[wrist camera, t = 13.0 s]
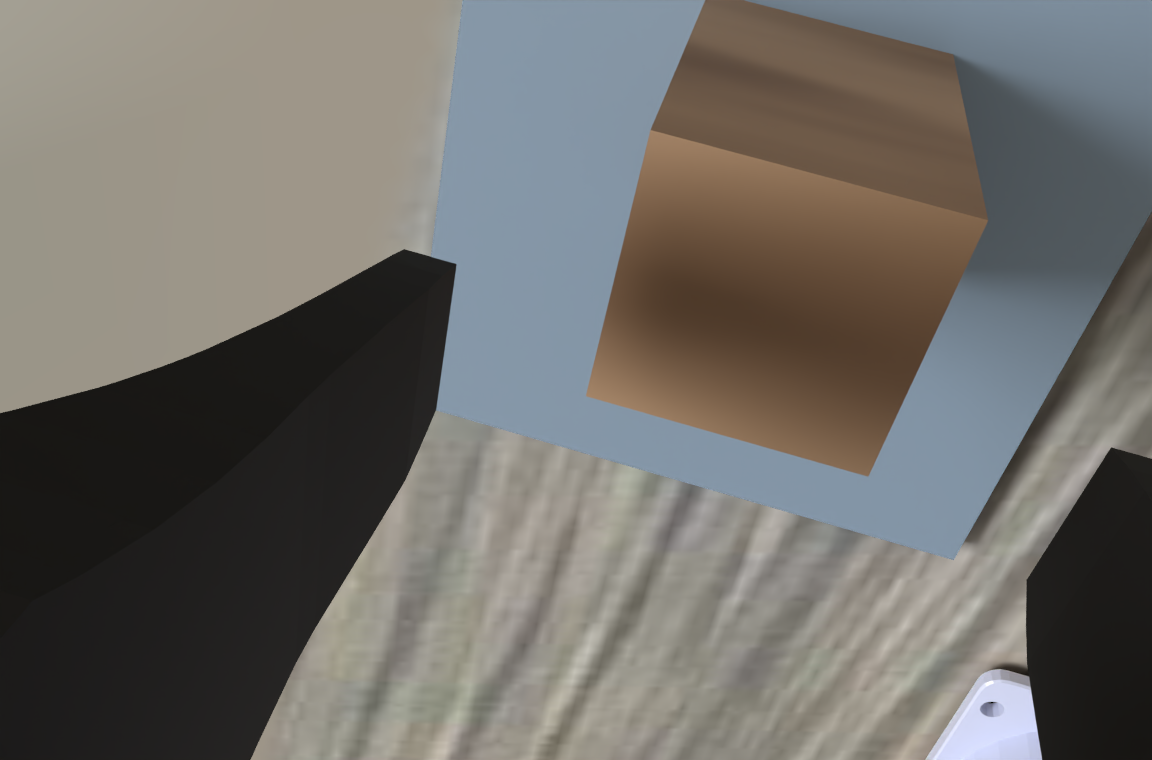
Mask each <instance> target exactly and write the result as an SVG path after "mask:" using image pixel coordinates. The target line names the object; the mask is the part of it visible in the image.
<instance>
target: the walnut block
mask: <svg viewBox="0 0 1152 760" xmlns="http://www.w3.org/2000/svg"><path fill="white" fill-rule="evenodd" d="M987 222H988V217H987V212H986V207H985V203H984V198H983V193H982V188H981V184H980V179H979V174H978V170H977V165H976V160H975V155H974V151H973V146H972V141H971V136H970V132H969V127H968V122H967V118H966V113H965V108H964V103H963V99H962V94H961V89H960V85H959V80H958V75H957V70H956V66H955V61H954V56H953V54H950V53H946V52H942V51H938V50H934V49H931V48H927V47H923V46H919V45H915V44H911V43H907V42H903V41H900V40H896V39H892V38H888V37H884V36H880V35H876V34H872V33H869V32H865V31H861V30H857V29H853V28H849V27H845V26H841V25H838V24H834V23H830V22H826V21H822V20H818V19H814V18H810V17H807V16H803V15H799V14H795V13H791V12H787V11H783V10H779V9H776V8H772V7H768V6H764V5H760V4H756V3H752V2H748V1H745V0H705V2H704V4H703V7H702V9H701V11H700V14H699V16H698V18H697V21H696V23H695V26H694V28H693V30H692V33H691V35H690V37H689V40H688V42H687V45H686V47H685V49H684V52H683V54H682V56H681V59H680V61H679V64H678V66H677V68H676V71H675V73H674V75H673V78H672V80H671V82H670V85H669V87H668V90H667V92H666V94H665V97H664V99H663V101H662V104H661V106H660V109H659V111H658V113H657V116H656V118H655V120H654V123H653V125H652V128H651V130H650V134H649V138H648V142H647V146H646V150H645V155H644V159H643V163H642V167H641V171H640V175H639V179H638V183H637V187H636V192H635V196H634V200H633V204H632V208H631V212H630V216H629V220H628V224H627V229H626V233H625V237H624V241H623V245H622V249H621V253H620V257H619V261H618V266H617V270H616V274H615V278H614V282H613V286H612V290H611V294H610V298H609V303H608V307H607V311H606V315H605V319H604V323H603V327H602V331H601V335H600V340H599V344H598V348H597V352H596V356H595V360H594V364H593V368H592V373H591V377H590V381H589V385H588V389H587V393H586V396H587V397H590V398H594V399H597V400H601V401H604V402H608V403H611V404H615V405H618V406H622V407H625V408H629V409H632V410H636V411H639V412H643V413H646V414H650V415H653V416H657V417H660V418H664V419H667V420H671V421H674V422H678V423H681V424H685V425H688V426H692V427H696V428H699V429H703V430H706V431H710V432H713V433H717V434H720V435H724V436H727V437H731V438H734V439H738V440H741V441H745V442H748V443H752V444H755V445H759V446H762V447H766V448H769V449H773V450H776V451H780V452H783V453H787V454H790V455H794V456H797V457H801V458H804V459H808V460H811V461H815V462H818V463H822V464H825V465H829V466H832V467H836V468H839V469H843V470H846V471H850V472H853V473H857V474H860V475H864V476H867V477H868V476H869V474H870V472H871V470H872V468H873V466H874V463H875V461H876V459H877V457H878V455H879V453H880V451H881V448H882V446H883V444H884V442H885V440H886V438H887V436H888V433H889V431H890V429H891V427H892V425H893V423H894V421H895V419H896V416H897V414H898V412H899V410H900V408H901V406H902V404H903V401H904V399H905V397H906V395H907V393H908V391H909V389H910V386H911V384H912V382H913V380H914V378H915V376H916V374H917V371H918V369H919V367H920V365H921V363H922V361H923V359H924V357H925V354H926V352H927V350H928V348H929V346H930V344H931V342H932V339H933V337H934V335H935V333H936V331H937V329H938V327H939V324H940V322H941V320H942V318H943V316H944V314H945V312H946V310H947V307H948V305H949V303H950V301H951V299H952V297H953V295H954V292H955V290H956V288H957V286H958V284H959V282H960V280H961V277H962V275H963V273H964V271H965V269H966V267H967V265H968V263H969V260H970V258H971V256H972V254H973V252H974V250H975V248H976V245H977V243H978V241H979V239H980V237H981V235H982V233H983V230H984V228H985V226H986V224H987Z"/></svg>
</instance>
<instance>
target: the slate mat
mask: <svg viewBox="0 0 1152 760" xmlns="http://www.w3.org/2000/svg"><path fill="white" fill-rule="evenodd" d="M745 1H748V2H752V3H756V4H760V5H764V6H768V7H772V8H776V9H779V10H783V11H787V12H791V13H795V14H799V15H803V16H807V17H810V18H814V19H818V20H822V21H826V22H830V23H834V24H838V25H841V26H845V27H849V28H853V29H857V30H861V31H865V32H869V33H872V34H876V35H880V36H884V37H888V38H892V39H896V40H900V41H903V42H907V43H911V44H915V45H919V46H923V47H927V48H931V49H934V50H938V51H942V52H946V53H950V54H953V56H954V61H955V66H956V70H957V75H958V80H959V85H960V89H961V94H962V99H963V103H964V108H965V113H966V118H967V122H968V127H969V132H970V136H971V141H972V146H973V151H974V155H975V160H976V165H977V170H978V174H979V179H980V184H981V188H982V193H983V198H984V203H985V207H986V212H987V217H988V222H987V224H986V226H985V228H984V230H983V233H982V235H981V237H980V239H979V241H978V243H977V245H976V248H975V250H974V252H973V254H972V256H971V258H970V260H969V263H968V265H967V267H966V269H965V271H964V273H963V275H962V277H961V280H960V282H959V284H958V286H957V288H956V290H955V292H954V295H953V297H952V299H951V301H950V303H949V305H948V307H947V310H946V312H945V314H944V316H943V318H942V320H941V322H940V324H939V327H938V329H937V331H936V333H935V335H934V337H933V339H932V342H931V344H930V346H929V348H928V350H927V352H926V354H925V357H924V359H923V361H922V363H921V365H920V367H919V369H918V371H917V374H916V376H915V378H914V380H913V382H912V384H911V386H910V389H909V391H908V393H907V395H906V397H905V399H904V401H903V404H902V406H901V408H900V410H899V412H898V414H897V416H896V419H895V421H894V423H893V425H892V427H891V429H890V431H889V433H888V436H887V438H886V440H885V442H884V444H883V446H882V448H881V451H880V453H879V455H878V457H877V459H876V461H875V463H874V466H873V468H872V470H871V472H870V474H869V476H868V477H867V476H864V475H860V474H857V473H853V472H850V471H846V470H843V469H839V468H836V467H832V466H829V465H825V464H822V463H818V462H815V461H811V460H808V459H804V458H801V457H797V456H794V455H790V454H787V453H783V452H780V451H776V450H773V449H769V448H766V447H762V446H759V445H755V444H752V443H748V442H745V441H741V440H738V439H734V438H731V437H727V436H724V435H720V434H717V433H713V432H710V431H706V430H703V429H699V428H696V427H692V426H688V425H685V424H681V423H678V422H674V421H671V420H667V419H664V418H660V417H657V416H653V415H650V414H646V413H643V412H639V411H636V410H632V409H629V408H625V407H622V406H618V405H615V404H611V403H608V402H604V401H601V400H597V399H594V398H590V397H587V396H586V393H587V389H588V385H589V381H590V377H591V373H592V368H593V364H594V360H595V356H596V352H597V348H598V344H599V340H600V335H601V331H602V327H603V323H604V319H605V315H606V311H607V307H608V303H609V298H610V294H611V290H612V286H613V282H614V278H615V274H616V270H617V266H618V261H619V257H620V253H621V249H622V245H623V241H624V237H625V233H626V229H627V224H628V220H629V216H630V212H631V208H632V204H633V200H634V196H635V192H636V187H637V183H638V179H639V175H640V171H641V167H642V163H643V159H644V155H645V150H646V146H647V142H648V138H649V134H650V130H651V128H652V125H653V123H654V120H655V118H656V116H657V113H658V111H659V109H660V106H661V104H662V101H663V99H664V97H665V94H666V92H667V90H668V87H669V85H670V82H671V80H672V78H673V75H674V73H675V71H676V68H677V66H678V64H679V61H680V59H681V56H682V54H683V52H684V49H685V47H686V45H687V42H688V40H689V37H690V35H691V33H692V30H693V28H694V26H695V23H696V21H697V18H698V16H699V14H700V11H701V9H702V7H703V4H704V2H705V0H463V2H462V10H461V18H460V26H459V34H458V43H457V51H456V59H455V67H454V75H453V83H452V91H451V99H450V107H449V115H448V123H447V131H446V140H445V148H444V156H443V164H442V172H441V180H440V188H439V196H438V204H437V212H436V220H435V228H434V236H433V245H432V253H431V257H433V258H437V259H440V260H444V261H448V262H451V263H455V264H457V266H456V273H455V280H454V288H453V295H452V302H451V309H450V316H449V323H448V330H447V337H446V344H445V351H444V358H443V365H442V372H441V380H440V387H439V394H438V401H437V408H436V410H437V411H440V412H444V413H447V414H451V415H454V416H458V417H461V418H465V419H468V420H471V421H475V422H478V423H482V424H485V425H489V426H492V427H496V428H499V429H503V430H506V431H509V432H513V433H516V434H520V435H523V436H527V437H530V438H534V439H537V440H541V441H544V442H547V443H551V444H554V445H558V446H561V447H565V448H568V449H572V450H575V451H579V452H582V453H585V454H589V455H592V456H596V457H599V458H603V459H606V460H610V461H613V462H617V463H620V464H623V465H627V466H630V467H634V468H637V469H641V470H644V471H648V472H651V473H655V474H658V475H661V476H665V477H668V478H672V479H675V480H679V481H682V482H686V483H689V484H693V485H696V486H700V487H703V488H706V489H710V490H713V491H717V492H720V493H724V494H727V495H731V496H734V497H738V498H741V499H744V500H748V501H751V502H755V503H758V504H762V505H765V506H769V507H772V508H776V509H779V510H782V511H786V512H789V513H793V514H796V515H800V516H803V517H807V518H810V519H814V520H817V521H820V522H824V523H827V524H831V525H834V526H838V527H841V528H845V529H848V530H852V531H855V532H858V533H862V534H865V535H869V536H872V537H876V538H879V539H883V540H886V541H890V542H893V543H896V544H900V545H903V546H907V547H910V548H914V549H917V550H921V551H924V552H928V553H931V554H934V555H938V556H941V557H945V558H948V559H952V560H954V558H955V557H956V555H957V553H958V551H959V550H960V548H961V546H962V544H963V543H964V541H965V539H966V537H967V535H968V534H969V532H970V530H971V528H972V527H973V525H974V523H975V521H976V520H977V518H978V516H979V514H980V513H981V511H982V509H983V507H984V506H985V504H986V502H987V500H988V499H989V497H990V495H991V493H992V492H993V490H994V488H995V486H996V484H997V483H998V481H999V479H1000V477H1001V476H1002V474H1003V472H1004V470H1005V469H1006V467H1007V465H1008V463H1009V462H1010V460H1011V458H1012V456H1013V455H1014V453H1015V451H1016V449H1017V448H1018V446H1019V444H1020V442H1021V441H1022V439H1023V437H1024V435H1025V433H1026V432H1027V430H1028V428H1029V426H1030V425H1031V423H1032V421H1033V419H1034V418H1035V416H1036V414H1037V412H1038V411H1039V409H1040V407H1041V405H1042V404H1043V402H1044V400H1045V398H1046V397H1047V395H1048V393H1049V391H1050V390H1051V388H1052V386H1053V384H1054V382H1055V381H1056V379H1057V377H1058V375H1059V374H1060V372H1061V370H1062V368H1063V367H1064V365H1065V363H1066V361H1067V360H1068V358H1069V356H1070V354H1071V353H1072V351H1073V349H1074V347H1075V346H1076V344H1077V342H1078V340H1079V338H1080V337H1081V335H1082V333H1083V331H1084V330H1085V328H1086V326H1087V324H1088V323H1089V321H1090V319H1091V317H1092V316H1093V314H1094V312H1095V310H1096V309H1097V307H1098V305H1099V303H1100V302H1101V300H1102V298H1103V296H1104V295H1105V293H1106V291H1107V289H1108V287H1109V286H1110V284H1111V282H1112V280H1113V279H1114V277H1115V275H1116V273H1117V272H1118V270H1119V268H1120V266H1121V265H1122V263H1123V261H1124V259H1125V258H1126V256H1127V254H1128V252H1129V251H1130V249H1131V247H1132V245H1133V244H1134V242H1135V240H1136V238H1137V236H1138V235H1139V233H1140V231H1141V229H1142V228H1143V226H1144V224H1145V222H1146V221H1147V219H1148V217H1149V215H1150V214H1151V212H1152V0H745Z"/></svg>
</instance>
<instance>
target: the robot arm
mask: <svg viewBox="0 0 1152 760" xmlns="http://www.w3.org/2000/svg"><path fill="white" fill-rule="evenodd" d="M456 266H457V264H455V263H451V262H448V261H444V260H440V259H437V258H433V257H430V256H426V255H423V254H419V253H415V252H412V251H408V250H405V249H404V250H402V251H400V252H398V253H396V254H394V255H392V256H390V257H388V258H386V259H385V260H383V261H381V262H379V263H377V264H375V265H374V266H372V267H370V268H368V269H366V270H364V271H363V272H361V273H359V274H357V275H355V276H354V277H352V278H350V279H348V280H346V281H344V282H343V283H341V284H339V285H337V286H335V287H334V288H332V289H330V290H328V291H326V292H324V293H323V294H321V295H319V296H317V297H315V298H313V299H311V300H309V301H307V302H305V303H304V304H302V305H300V306H298V307H296V308H294V309H292V310H290V311H288V312H286V313H284V314H282V315H280V316H279V317H276V318H274V319H272V320H270V321H268V322H265V323H263V324H261V325H259V326H257V327H255V328H252V329H250V330H248V331H246V332H244V333H241V334H239V335H237V336H235V337H232V338H230V339H228V340H226V341H224V342H222V343H219V344H217V345H215V346H213V347H210V348H209V349H206V350H204V351H201V352H199V353H196V354H194V355H191V356H189V357H187V358H184V359H181V360H178V361H176V362H174V363H170V364H168V365H165V366H163V367H160V368H157V369H154V370H151V371H148V372H145V373H142V374H139V375H136V376H133V377H130V378H128V379H124V380H122V381H118V382H116V383H112V384H109V385H106V386H102V387H99V388H95V389H92V390H88V391H84V392H80V393H77V394H73V395H69V396H65V397H61V398H58V399H54V400H50V401H46V402H42V403H39V404H35V405H31V406H28V407H23V408H20V409H16V410H12V411H8V412H3V413H0V760H250V759H251V757H252V755H253V753H254V751H255V748H256V746H257V744H258V742H259V740H260V737H261V735H262V733H263V731H264V729H265V727H266V725H267V723H268V721H269V718H270V716H271V714H272V712H273V710H274V708H275V706H276V704H277V702H278V699H279V697H280V695H281V693H282V691H283V689H284V687H285V685H286V683H287V680H288V678H289V676H290V674H291V672H292V670H293V668H294V666H295V664H296V662H297V660H298V658H299V656H300V655H301V653H302V651H303V649H304V647H305V645H306V644H307V642H308V640H309V638H310V636H311V635H312V633H313V631H314V629H315V628H316V626H317V624H318V623H319V621H320V619H321V618H322V616H323V614H324V613H325V611H326V610H327V608H328V606H329V605H330V603H331V601H332V600H333V598H334V597H335V595H336V593H337V592H338V590H339V588H340V587H341V585H342V583H343V582H344V580H345V579H346V577H347V575H348V574H349V572H350V570H351V569H352V567H353V566H354V564H355V562H356V561H357V559H358V557H359V556H360V554H361V552H362V551H363V549H364V548H365V546H366V544H367V543H368V541H369V539H370V538H371V536H372V535H373V533H374V531H375V530H376V528H377V526H378V525H379V523H380V521H381V520H382V518H383V516H384V515H385V513H386V511H387V510H388V508H389V506H390V505H391V503H392V501H393V500H394V498H395V497H396V495H397V493H398V491H399V490H400V488H401V486H402V485H403V483H404V481H405V479H406V477H407V475H408V473H409V471H410V468H411V466H412V464H413V462H414V459H415V457H416V455H417V453H418V451H419V448H420V446H421V444H422V441H423V439H424V437H425V434H426V432H427V430H428V427H429V425H430V423H431V420H432V418H433V416H434V413H435V411H436V408H437V401H438V394H439V387H440V380H441V372H442V365H443V358H444V351H445V344H446V337H447V330H448V323H449V316H450V309H451V302H452V295H453V288H454V280H455V273H456ZM1026 637H1027V665H1028V673H1029V677H1028V676H1025V675H1022V674H1018V673H1015V672H1011V671H1008V670H1002V669H996V670H990V671H988V672H985V673H983V674H982V675H981V676H980V677H979V678H978V679H977V681H976V682H975V684H974V685H973V687H972V689H971V690H970V692H969V693H968V695H967V696H966V698H965V699H964V701H963V702H962V704H961V706H960V707H959V709H958V710H957V712H956V713H955V715H954V716H953V718H952V719H951V721H950V722H949V724H948V726H947V727H946V729H945V730H944V732H943V733H942V735H941V736H940V738H939V739H938V741H937V742H936V744H935V746H934V747H933V749H932V750H931V752H930V753H929V755H928V756H927V758H926V759H925V760H1152V459H1150V458H1147V457H1143V456H1139V455H1136V454H1132V453H1129V452H1125V451H1122V450H1118V449H1115V448H1111V449H1110V450H1109V452H1108V453H1107V455H1106V457H1105V458H1104V460H1103V461H1102V463H1101V464H1100V466H1099V468H1098V469H1097V471H1096V472H1095V474H1094V475H1093V477H1092V478H1091V480H1090V482H1089V483H1088V485H1087V486H1086V488H1085V489H1084V491H1083V493H1082V494H1081V496H1080V497H1079V499H1078V500H1077V502H1076V504H1075V505H1074V507H1073V508H1072V510H1071V511H1070V513H1069V515H1068V516H1067V518H1066V519H1065V521H1064V522H1063V524H1062V526H1061V527H1060V529H1059V530H1058V532H1057V533H1056V535H1055V537H1054V538H1053V540H1052V541H1051V543H1050V544H1049V546H1048V548H1047V549H1046V551H1045V552H1044V554H1043V555H1042V557H1041V559H1040V560H1039V562H1038V563H1037V565H1036V566H1035V568H1034V570H1033V571H1032V573H1031V574H1030V576H1029V577H1028V579H1027V602H1026ZM987 702H997V703H987Z"/></svg>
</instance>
